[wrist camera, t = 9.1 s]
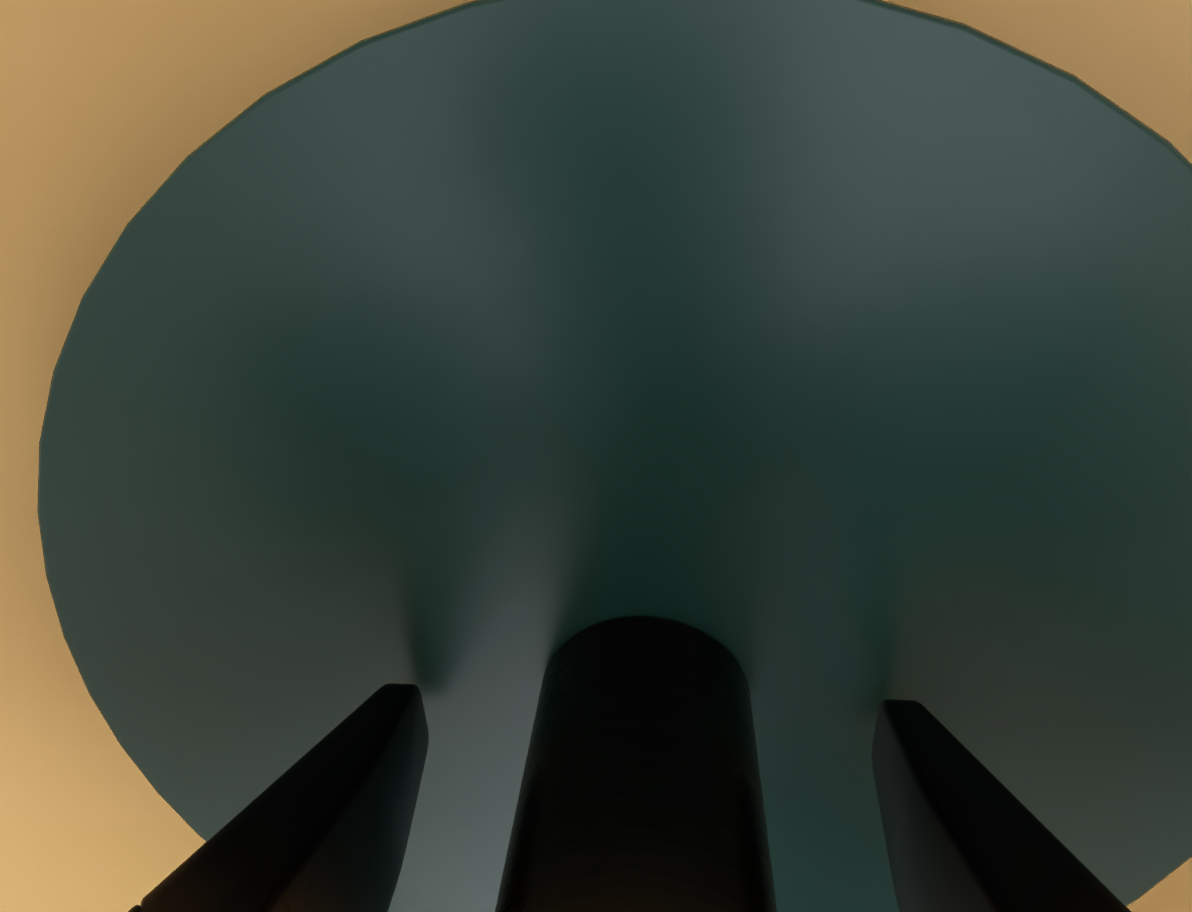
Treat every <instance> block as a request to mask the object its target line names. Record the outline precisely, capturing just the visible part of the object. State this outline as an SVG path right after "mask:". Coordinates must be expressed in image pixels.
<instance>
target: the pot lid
mask: <svg viewBox="0 0 1192 912" xmlns="http://www.w3.org/2000/svg"><path fill="white" fill-rule="evenodd" d="M38 518H39V526H40V533H41V540H42V548H43V555H44V563H45V570H46V577H47V580H48V584H49V587H50V591H51V594H52V598H53V601H54V604H55V608H56V611H57V615H58V618H59V622H60V625H61V628H62V632H63V635H64V638H65V641H66V643H67V645H68V647H69V649H70V652H71V654H72V656H73V658H74V661H75V663H76V665H77V667H78V670H79V672H80V674H81V676H82V679H83V681H84V683H85V685H86V687H87V690H88V692H89V694H90V696H91V697H92V699H93V701H94V702H95V704H96V706H97V707H98V709H99V710H100V712H101V714H102V715H103V717H104V719H105V720H106V722H107V724H108V725H109V727H110V729H111V730H112V732H113V733H114V735H115V737H116V738H117V740H118V742H119V743H120V745H121V746H122V748H123V749H124V750H125V751H126V753H127V754H128V755H129V757H130V758H131V759H132V760H133V762H134V763H135V764H136V766H137V767H138V768H139V769H140V771H141V772H142V773H143V775H144V776H145V777H146V778H147V780H148V781H149V782H150V784H151V785H152V786H153V787H154V789H155V790H156V791H157V792H158V793H159V795H160V796H161V797H162V798H163V799H164V800H165V801H166V802H167V803H168V804H169V805H170V806H171V807H172V808H173V809H174V810H175V811H176V812H177V813H178V814H179V815H180V816H181V817H182V818H183V819H184V820H185V821H186V822H187V823H188V825H189V826H190V827H191V828H192V829H193V830H194V831H195V832H196V833H197V834H198V835H199V836H200V837H202V838H203V839H204V840H205V841H206V842H207V841H208V840H209V839H210V838H212V837H213V836H214V835H215V834H216V833H217V832H218V831H219V830H221V829H222V828H223V827H224V826H225V825H226V824H227V823H228V822H230V821H231V820H232V819H233V818H234V817H235V816H236V815H237V814H239V813H240V812H241V811H242V810H243V809H244V808H245V807H246V806H248V805H249V804H250V803H251V802H252V801H253V800H254V799H255V798H257V797H258V796H259V795H260V794H261V793H262V792H263V791H264V790H266V789H267V788H268V787H269V786H270V785H271V784H272V783H273V782H275V781H276V780H277V779H278V778H279V777H280V776H281V775H283V774H284V773H285V772H286V771H287V770H288V769H289V768H290V767H292V766H293V765H294V764H295V763H296V762H297V761H298V760H299V759H301V758H302V757H303V756H304V755H305V754H306V753H307V752H308V751H310V750H311V749H312V748H313V747H314V746H315V745H316V744H317V743H319V742H320V741H321V740H322V739H323V738H324V737H325V736H326V735H328V734H329V733H330V732H331V731H332V730H333V729H334V728H335V727H337V726H338V725H339V724H340V723H341V722H342V721H343V720H344V719H346V718H347V717H348V716H349V715H350V714H351V713H352V712H353V711H355V710H356V709H357V708H358V707H359V706H360V705H361V704H362V703H364V702H365V701H366V700H367V699H368V698H369V697H370V696H371V695H373V694H374V693H375V692H376V691H377V690H378V689H379V688H381V687H382V686H384V685H385V684H389V683H398V684H414V685H416V686H418V688H419V689H420V692H421V696H422V701H423V705H424V710H425V715H426V720H427V725H428V731H429V744H428V751H427V756H426V760H425V765H424V770H423V774H422V779H421V783H420V788H419V792H418V797H417V802H416V806H415V811H414V815H413V820H412V824H411V829H410V834H409V838H408V843H407V847H406V852H405V856H404V860H403V864H402V868H401V872H400V875H399V879H398V882H397V885H396V889H395V892H394V895H393V898H392V901H391V904H390V907H389V910H388V912H900V911H899V907H898V904H897V900H896V895H895V890H894V885H893V880H892V875H891V869H890V863H889V858H888V852H887V847H886V841H885V835H884V830H883V824H882V819H881V813H880V807H879V802H878V796H877V791H876V785H875V779H874V774H873V768H872V744H873V738H874V733H875V727H876V721H877V716H878V710H879V706H880V704H881V703H882V701H884V700H887V699H894V700H915V701H917V702H919V703H921V704H922V705H923V706H924V707H925V708H926V709H927V710H928V711H929V712H930V713H931V714H933V715H934V716H935V717H936V718H937V719H938V720H939V721H940V722H941V723H942V724H943V725H944V726H945V727H946V728H947V729H948V730H949V731H950V732H951V733H952V734H953V735H954V736H955V737H956V738H957V739H958V740H959V741H960V742H961V743H962V744H963V745H964V746H965V747H966V748H967V749H968V750H969V751H970V752H971V753H972V754H973V755H974V756H975V757H976V758H977V759H978V760H979V761H980V762H981V763H982V764H983V765H984V766H985V767H986V768H987V769H988V770H989V771H990V772H991V773H992V774H993V775H994V776H995V777H996V778H997V779H998V780H999V781H1000V782H1001V783H1002V784H1003V785H1004V786H1005V787H1006V788H1007V789H1008V790H1009V791H1010V792H1011V793H1012V794H1013V795H1014V796H1015V797H1016V798H1017V799H1018V800H1019V801H1020V802H1021V803H1022V804H1023V805H1024V806H1025V807H1026V808H1027V809H1028V810H1029V811H1030V812H1031V813H1032V814H1033V815H1034V816H1035V817H1036V818H1037V819H1038V820H1039V821H1040V822H1041V823H1042V824H1043V825H1044V826H1045V827H1046V828H1047V829H1048V830H1049V831H1050V832H1051V833H1052V834H1053V835H1054V836H1055V837H1056V838H1057V839H1058V840H1059V841H1060V842H1061V843H1062V844H1063V845H1064V846H1065V847H1066V848H1067V849H1069V850H1070V851H1071V852H1072V853H1073V854H1074V855H1075V856H1076V857H1077V858H1078V859H1079V860H1080V861H1081V862H1082V863H1083V864H1084V865H1085V866H1086V867H1087V868H1088V869H1089V870H1090V871H1091V872H1092V873H1093V874H1094V875H1095V876H1096V877H1097V878H1098V879H1099V880H1100V881H1101V882H1102V883H1103V884H1104V885H1105V886H1106V887H1107V888H1108V889H1109V890H1110V891H1111V892H1112V893H1113V894H1114V895H1115V896H1116V897H1117V898H1118V899H1119V900H1120V901H1121V902H1122V903H1123V904H1124V905H1125V906H1127V905H1129V904H1130V903H1132V902H1134V901H1135V900H1137V899H1138V898H1140V897H1141V896H1142V895H1144V894H1145V893H1146V892H1147V891H1149V890H1150V889H1151V888H1153V887H1154V886H1155V885H1156V884H1158V883H1159V882H1160V881H1161V880H1163V879H1164V878H1165V877H1167V876H1168V875H1169V874H1170V873H1172V872H1173V871H1174V870H1175V869H1177V868H1178V867H1179V866H1181V865H1182V864H1183V863H1184V862H1186V861H1187V860H1188V859H1190V858H1191V857H1192V164H1191V163H1190V162H1189V161H1188V160H1187V159H1186V158H1185V157H1184V156H1183V155H1182V154H1181V153H1180V152H1179V151H1178V150H1177V149H1176V148H1175V147H1174V146H1173V145H1172V144H1171V143H1170V142H1169V141H1168V140H1166V139H1165V138H1164V137H1162V136H1161V135H1159V134H1158V133H1156V132H1155V131H1153V130H1152V129H1151V128H1149V127H1148V126H1146V125H1145V124H1143V123H1142V122H1141V121H1139V120H1138V119H1136V118H1135V117H1133V116H1132V115H1130V114H1129V113H1128V112H1126V111H1125V110H1123V109H1122V108H1120V107H1119V106H1118V105H1116V104H1115V103H1113V102H1112V101H1110V100H1109V99H1107V98H1106V97H1105V96H1103V95H1102V94H1100V93H1099V92H1097V91H1096V90H1095V89H1093V88H1092V87H1090V86H1089V85H1087V84H1086V83H1085V82H1083V81H1082V80H1080V79H1079V78H1077V77H1076V76H1074V75H1072V74H1070V73H1068V72H1066V71H1064V70H1062V69H1060V68H1057V67H1055V66H1053V65H1051V64H1049V63H1047V62H1045V61H1042V60H1040V59H1038V58H1036V57H1034V56H1032V55H1030V54H1028V53H1025V52H1023V51H1021V50H1019V49H1017V48H1015V47H1013V46H1011V45H1008V44H1006V43H1004V42H1002V41H1000V40H998V39H996V38H993V37H991V36H989V35H987V34H985V33H983V32H981V31H979V30H976V29H974V28H972V27H970V26H968V25H966V24H963V23H960V22H956V21H953V20H949V19H945V18H942V17H938V16H935V15H931V14H928V13H924V12H921V11H917V10H914V9H910V8H907V7H903V6H900V5H896V4H893V3H889V2H886V1H882V0H475V1H470V2H467V3H464V4H461V5H459V6H456V7H453V8H450V9H448V10H445V11H442V12H439V13H436V14H434V15H431V16H428V17H425V18H423V19H420V20H417V21H414V22H411V23H409V24H406V25H403V26H400V27H398V28H395V29H392V30H389V31H386V32H384V33H381V34H378V35H375V36H373V37H370V38H367V39H364V40H361V41H359V42H358V43H356V44H354V45H352V46H350V47H349V48H347V49H345V50H343V51H341V52H340V53H338V54H336V55H334V56H332V57H331V58H329V59H327V60H325V61H323V62H322V63H320V64H318V65H316V66H314V67H312V68H311V69H309V70H307V71H305V72H303V73H302V74H300V75H298V76H296V77H294V78H293V79H291V80H289V81H287V82H285V83H284V84H282V85H280V86H278V87H276V88H275V89H273V90H271V91H269V92H267V93H266V94H265V95H263V96H262V97H261V98H259V99H258V100H257V101H256V102H254V103H253V104H252V105H251V106H249V107H248V108H247V109H246V110H244V111H243V112H242V113H241V114H239V115H238V116H237V117H236V118H234V119H233V120H232V121H231V122H229V123H228V124H227V125H226V126H224V127H223V128H222V129H221V130H219V131H218V132H217V133H216V134H214V135H213V136H212V137H211V138H209V139H208V140H207V141H206V142H204V143H203V144H202V145H201V146H199V147H198V148H197V149H196V150H194V151H193V152H192V153H191V154H189V155H188V156H187V157H186V158H185V159H184V161H183V162H182V163H181V164H180V165H179V166H178V167H177V169H176V170H175V171H174V172H173V173H172V174H171V175H170V176H169V178H168V179H167V180H166V181H165V182H164V183H163V184H162V185H161V187H160V188H159V189H158V190H157V191H156V192H155V193H154V194H153V196H152V197H151V198H150V199H149V200H148V201H147V202H146V203H145V205H144V206H143V207H142V208H141V209H140V210H139V211H138V212H137V214H136V215H135V216H134V217H133V218H132V219H131V220H130V222H129V223H128V224H127V225H126V227H125V229H124V230H123V232H122V233H121V235H120V237H119V238H118V240H117V242H116V243H115V245H114V246H113V248H112V250H111V251H110V253H109V255H108V256H107V258H106V260H105V261H104V263H103V264H102V266H101V268H100V269H99V271H98V273H97V274H96V276H95V278H94V279H93V281H92V282H91V284H90V286H89V287H88V289H87V291H86V292H85V294H84V295H83V297H82V299H81V302H80V305H79V307H78V310H77V312H76V315H75V317H74V320H73V322H72V325H71V328H70V330H69V333H68V335H67V338H66V340H65V343H64V346H63V348H62V351H61V353H60V356H59V358H58V361H57V364H56V366H55V369H54V371H53V377H52V382H51V387H50V392H49V397H48V402H47V407H46V412H45V417H44V422H43V427H42V432H41V437H40V442H39V476H38Z"/></svg>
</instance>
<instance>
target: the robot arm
mask: <svg viewBox="0 0 1192 912" xmlns="http://www.w3.org/2000/svg"><path fill="white" fill-rule="evenodd" d="M428 744H429V731H428V725H427V720H426V715H425V710H424V705H423V701H422V696H421V692H420V689H419V688H418V686H416V685H414V684H398V683H389V684H385V685H384V686H382V687H381V688H379V689H378V690H377V691H376V692H375V693H374V694H373V695H371V696H370V697H369V698H368V699H367V700H366V701H365V702H364V703H362V704H361V705H360V706H359V707H358V708H357V709H356V710H355V711H353V712H352V713H351V714H350V715H349V716H348V717H347V718H346V719H344V720H343V721H342V722H341V723H340V724H339V725H338V726H337V727H335V728H334V729H333V730H332V731H331V732H330V733H329V734H328V735H326V736H325V737H324V738H323V739H322V740H321V741H320V742H319V743H317V744H316V745H315V746H314V747H313V748H312V749H311V750H310V751H308V752H307V753H306V754H305V755H304V756H303V757H302V758H301V759H299V760H298V761H297V762H296V763H295V764H294V765H293V766H292V767H290V768H289V769H288V770H287V771H286V772H285V773H284V774H283V775H281V776H280V777H279V778H278V779H277V780H276V781H275V782H273V783H272V784H271V785H270V786H269V787H268V788H267V789H266V790H264V791H263V792H262V793H261V794H260V795H259V796H258V797H257V798H255V799H254V800H253V801H252V802H251V803H250V804H249V805H248V806H246V807H245V808H244V809H243V810H242V811H241V812H240V813H239V814H237V815H236V816H235V817H234V818H233V819H232V820H231V821H230V822H228V823H227V824H226V825H225V826H224V827H223V828H222V829H221V830H219V831H218V832H217V833H216V834H215V835H214V836H213V837H212V838H210V839H209V840H208V841H207V842H206V843H205V844H204V845H203V846H201V847H200V848H199V849H198V850H197V851H196V852H195V853H194V854H192V855H191V856H190V857H189V858H188V859H187V860H186V861H185V862H183V863H182V864H181V865H180V866H179V867H178V868H177V869H176V870H174V871H173V872H172V873H171V874H170V875H169V876H168V877H167V878H165V879H164V880H163V881H162V882H161V883H160V884H159V885H158V886H156V887H155V888H154V889H153V890H152V891H151V892H150V893H149V894H147V895H146V896H145V897H144V898H143V899H142V902H141V906H140V905H136V906H134V907H132V908H131V909H130V910H129V911H128V912H388V910H389V907H390V904H391V901H392V898H393V895H394V892H395V889H396V885H397V882H398V879H399V875H400V872H401V868H402V864H403V860H404V856H405V852H406V847H407V843H408V838H409V834H410V829H411V824H412V820H413V815H414V811H415V806H416V802H417V797H418V792H419V788H420V783H421V779H422V774H423V770H424V765H425V760H426V756H427V751H428ZM872 768H873V774H874V779H875V785H876V791H877V796H878V802H879V807H880V813H881V819H882V824H883V830H884V835H885V841H886V847H887V852H888V858H889V863H890V869H891V875H892V880H893V885H894V890H895V895H896V900H897V904H898V907H899V911H900V912H1131V911H1130V910H1129V909H1128V908H1127V907H1126V906H1125V905H1124V904H1123V903H1122V902H1121V901H1120V900H1119V899H1118V898H1117V897H1116V896H1115V895H1114V894H1113V893H1112V892H1111V891H1110V890H1109V889H1108V888H1107V887H1106V886H1105V885H1104V884H1103V883H1102V882H1101V881H1100V880H1099V879H1098V878H1097V877H1096V876H1095V875H1094V874H1093V873H1092V872H1091V871H1090V870H1089V869H1088V868H1087V867H1086V866H1085V865H1084V864H1083V863H1082V862H1081V861H1080V860H1079V859H1078V858H1077V857H1076V856H1075V855H1074V854H1073V853H1072V852H1071V851H1070V850H1069V849H1067V848H1066V847H1065V846H1064V845H1063V844H1062V843H1061V842H1060V841H1059V840H1058V839H1057V838H1056V837H1055V836H1054V835H1053V834H1052V833H1051V832H1050V831H1049V830H1048V829H1047V828H1046V827H1045V826H1044V825H1043V824H1042V823H1041V822H1040V821H1039V820H1038V819H1037V818H1036V817H1035V816H1034V815H1033V814H1032V813H1031V812H1030V811H1029V810H1028V809H1027V808H1026V807H1025V806H1024V805H1023V804H1022V803H1021V802H1020V801H1019V800H1018V799H1017V798H1016V797H1015V796H1014V795H1013V794H1012V793H1011V792H1010V791H1009V790H1008V789H1007V788H1006V787H1005V786H1004V785H1003V784H1002V783H1001V782H1000V781H999V780H998V779H997V778H996V777H995V776H994V775H993V774H992V773H991V772H990V771H989V770H988V769H987V768H986V767H985V766H984V765H983V764H982V763H981V762H980V761H979V760H978V759H977V758H976V757H975V756H974V755H973V754H972V753H971V752H970V751H969V750H968V749H967V748H966V747H965V746H964V745H963V744H962V743H961V742H960V741H959V740H958V739H957V738H956V737H955V736H954V735H953V734H952V733H951V732H950V731H949V730H948V729H947V728H946V727H945V726H944V725H943V724H942V723H941V722H940V721H939V720H938V719H937V718H936V717H935V716H934V715H933V714H931V713H930V712H929V711H928V710H927V709H926V708H925V707H924V706H923V705H922V704H921V703H919V702H917V701H915V700H894V699H887V700H884V701H882V703H881V704H880V706H879V710H878V716H877V721H876V727H875V733H874V738H873V744H872Z"/></svg>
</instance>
